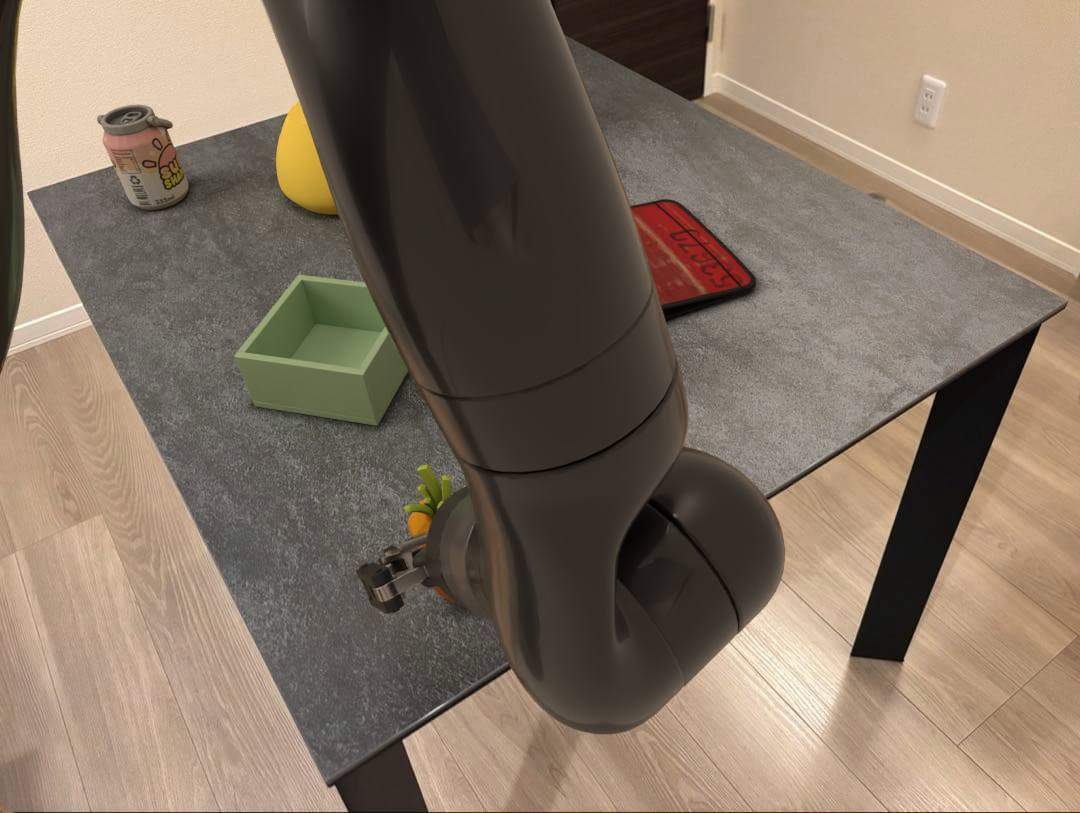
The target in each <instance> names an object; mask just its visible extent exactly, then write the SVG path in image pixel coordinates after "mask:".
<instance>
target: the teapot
mask: <svg viewBox="0 0 1080 813" xmlns="http://www.w3.org/2000/svg"><path fill="white" fill-rule="evenodd" d="M275 167H276V176H277V181H278V184H279V187H280V189H281V191H282V192H283V194H284V195H285V196H286V197H287V199H289V200H290V201H292V202H293V203H295V204H297V205H298V206H300V207H301V208H303V209H305V210H307V211H310V212H312V213H316V214H323V215H338V212H337V209H336V207H335V204H334V201H333V198H332V195H331V193H330V190H329V187H328V184H327V181H326V178H325V175H324V172H323V169H322V166H321V163H320V160H319V157H318V154H317V151H316V148H315V145H314V142H313V139H312V136H311V133H310V130H309V127H308V124H307V121H306V119H305V116H304V113H303V110H302V108H301V105H300V102H299V100H298V101H297V102H295V103H294V104H293V105H292V106H291V108H290V109H289V111H288V112H287V115H286V117H285V119H284V121H283V125H282V128H281V130H280V134H279V137H278V142H277V147H276V155H275Z"/></svg>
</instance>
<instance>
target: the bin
mask: <svg viewBox="0 0 1080 813" xmlns="http://www.w3.org/2000/svg"><path fill="white" fill-rule="evenodd" d="M233 358H234V360H235V362H236V363H235V364H236V366H237V367H238V370H239V373H240V374H241V377H242V379H243V381H244V384H245V387H246V388H247V391H248V393H249V396H250V398H251V401H252V403H253V405H254V407H257V408H263V409H269V410H276V411H280V412H281V411H282V412H287V413H294V414H301V415H307V416H314V417H319V418H324V419H325V418H326V419H332V420H337V421H343V422H344V421H345V422H351V423H357V424H363V425H369V426H375V427H376V426H379V424H380V422H381V420H382V419H383V416H384V415H385V413H386V411H387V410H388V408H389V406H390V404H391V403H392V401H393V399H394V397H395V396H396V393H397V392H398V390H399V388H400V387H401V384H402V383H403V381H404V379H405V377H406V376H407V374H408V373H409V371H408V370H407V368H406V366H405V364H404V362H403V360H402V358H401V356H400V355H399V353H398V351H397V349H396V347H395V345H394V343H393V341H392V339H391V337H390V335H389V333H388V331H387V329H386V327H385V325H384V323H383V321H382V319H381V317H380V315H379V313H378V311H377V308H376V306H375V304H374V302H373V300H372V297H371V295H370V293H369V291H368V288H367V286H366V284H365V282H364V281H356V280H350V279H349V280H348V279H339V278H332V277H322V276H314V275H305V274H298V275H297V276H296V277H295V278H294V279H293V281H292V282H291V283H290V284H289V286H288V287H286V290H285V291H283V293H282V295H281V296H280V297H279V298H278V300H277V301H276V302H275V303H274V305H273V306H272V307H271V308H270V309H269V311H268V312H267V313H266V314H265V316H264V317H263V319H262V320H261V321H260V322H259V323H258V324H257V326H256V327H255V329H254V330H253V331H252V332H251V334H250V335H249V336H248V337H247V339H246V340H245V341H244V343H243V344H242V345H241V346H240V348H239V349H238V350H237V351H236V353H235V354H234V355H233Z"/></svg>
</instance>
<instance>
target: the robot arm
mask: <svg viewBox="0 0 1080 813" xmlns="http://www.w3.org/2000/svg"><path fill="white" fill-rule="evenodd" d="M260 2H261V4H262V6H263V8H264V12H265V15H266V17H267V19H268V22H269V24H270V27H271V29H272V30H271V31H272V32H273V35H274V38H275V40H276V43H277V45H278V47H279V50H280V52H281V55H282V57H283V60H284V63H285V66H286V68H287V71H288V74H289V77H290V79H291V83H292V85H293V88H294V90H295V94H296V97H297V99H298V101H299V102H300V105H301V108H302V110H303V113H304V116H305V119H306V121H307V124H308V127H309V130H310V133H311V136H312V139H313V142H314V145H315V148H316V151H317V154H318V157H319V160H320V163H321V166H322V169H323V172H324V175H325V178H326V181H327V184H328V187H329V190H330V193H331V195H332V198H333V201H334V204H335V207H336V209H337V212H338V214H337V215H338V218H339V220H340V223H341V225H342V228H343V231H344V234H345V236H346V239H347V242H348V245H349V247H350V250H351V252H352V255H353V257H354V259H355V262H356V264H357V268H358V270H359V272H360V274H361V277H362V280H363V282H365V284H366V286H367V288H368V291H369V293H370V295H371V297H372V300H373V302H374V304H375V306H376V308H377V311H378V313H379V315H380V317H381V319H382V321H383V323H384V325H385V327H386V329H387V331H388V333H389V335H390V337H391V339H392V341H393V343H394V345H395V347H396V349H397V351H398V353H399V355H400V356H401V358H402V360H403V362H404V364H405V366H406V368H407V370H408V373H409V374H410V376H411V379H412V380H413V382H414V384H415V386H416V387H417V389H418V391H419V393H420V395H421V397H422V399H423V401H424V402H425V404H426V405H427V408H428V409H429V412H430V413H431V415H432V418H434V420H435V422H436V424H437V426H438V428H439V429H440V432H441V433H442V436H443V437H444V439H445V441H446V443H447V444H448V447H450V449H451V451H452V454H453V455H454V457H455V459H456V461H457V463H458V465H459V467H460V468H461V472H462V473H463V474H462V475H463V476H464V480H465V482H466V486H464V487H462V488H460V489H457V491H455V492H452V493H451V496H450V497H449V498H447V499H446V500H445V501H444V502H443V504H442V505H441V506H440V507H439V509H438V510H437V512H436V513H435V515H434V517H433V519H432V521H431V524H430V527H429V530H428V531H426V532H423V533H420V534H417V535H414V536H413V537H410V538H408V539H406V540H405V541H403V542H402V543H400V544H399V547H397V546H394V545H390V546H387V547H386V548H384V549H382V551H383V555H381V556H380V557H378V559H377V562H378V563H375V562H370V563H368V562H367V563H363V564H361V565H360V566H359V568H358V569H356V570H355V573H356V575H357V577H358V578H359V579H360V582H361V584H362V586H363V588H364V590H365V593H366V595H367V597H368V601H369V603H370V606H372V607H374V608H375V609H377V610H379V611H380V612H382V613H384V614H385V615H388V614H391V613H392V614H395V613H397V612H399V611H400V610H401V608H403V607H404V606H405V602H406V601H407V600H408V596H407V594H406V592H407V591H408V590H410V589H411V588H414V587H416V588H417V589H418V590H419V591H422V592H426V591H427V592H428V591H431V590H435V589H434V588H438V587H439V588H440V589H441V590H442V591H443V592H444V593H445V594H446V595H447V596H448V597H450V598H451V599H452V600H454V601H455V602H457V603H459V604H458V605H460V606H461V607H463V608H465V609H467V610H469V611H471V612H473V613H474V614H475V615H478V616H479V617H481V618H483V619H484V620H485V621H489V622H491V623H492V624H493V627H494V630H495V633H496V637H497V639H498V642H499V645H500V648H501V650H502V652H503V655H504V657H505V660H506V661H507V663H508V665H509V667H510V669H511V671H512V673H513V674H514V676H515V678H516V679H517V681H518V682H519V685H521V687H522V689H524V691H525V692H526V694H527V695H528V696H529V697H530V699H532V701H533V702H534V703H535V704H536V705H537V706H538V707H539V708H540V709H542V710H543V712H544V713H546V714H547V715H548V716H550V717H551V718H552V719H553V720H556V721H557V722H559V723H561V724H562V725H564V726H566V727H568V728H570V729H573V730H576V731H578V732H581V733H587V734H591V735H603V736H604V735H611V736H612V735H617V734H621V733H622V734H623V733H626V732H630V731H631V730H633V729H636V728H638V727H640V726H641V725H643V724H645V723H646V722H648V721H649V720H651V719H652V718H653V717H654V716H656V715H657V714H658V713H659V712H660V711H661V710H662V709H664V708H665V707H666V706H667V705H668V704H669V703H670V702H671V701H672V700H673V699H674V698H675V697H676V696H677V695H678V694H679V693H680V692H681V691H682V689H683V688H684V687H686V686H687V685H688V684H689V683H690V682H691V681H692V680H693V679H694V678H695V677H696V676H697V675H699V673H700V672H701V671H702V670H703V669H704V668H705V667H706V666H707V665H708V664H709V663H710V662H711V661H712V660H713V659H715V657H716V656H717V655H719V653H721V652H722V651H723V650H724V649H725V648H726V647H727V646H728V645H729V644H730V643H731V641H733V640H734V638H735V637H736V636H737V635H739V634H740V633H741V632H742V631H743V630H745V628H746V627H747V626H748V625H749V624H750V623H751V622H752V621H753V620H754V619H755V618H756V617H757V616H758V615H759V614H760V613H761V612H762V611H763V610H764V609H765V608H766V607H767V605H768V604H769V603H770V601H771V600H772V599H773V597H774V596H775V594H776V593H777V590H778V588H779V586H780V584H781V581H782V579H783V574H784V571H785V570H784V569H785V564H786V563H785V562H786V547H785V546H786V545H785V538H784V532H783V528H782V526H781V523H780V520H779V518H778V516H777V514H776V512H775V510H774V508H773V506H772V505H771V503H770V501H769V499H767V497H766V496H765V494H764V493H763V491H762V490H761V488H760V487H759V486H758V485H757V484H756V483H755V482H754V481H753V480H752V479H751V478H750V477H749V476H747V475H746V474H745V473H744V472H743V471H741V470H739V469H738V468H737V467H735V466H733V465H732V464H731V463H729V462H727V461H725V460H723V459H722V458H720V457H717V456H715V455H713V454H710V453H708V452H705V451H702V450H701V449H696V448H693V447H688V446H684V445H685V442H686V438H687V434H688V431H689V430H688V429H689V420H690V418H689V415H690V414H689V404H688V402H689V401H688V397H687V396H688V395H687V391H686V387H685V382H684V379H683V375H682V374H683V373H682V371H681V367H680V365H679V364H680V363H679V361H678V358H677V354H676V350H675V348H674V344H673V340H672V337H671V334H670V331H669V327H668V323H667V321H666V320H667V319H665V317H664V314H663V310H662V307H661V303H660V300H659V297H658V293H657V290H656V286H655V283H654V280H653V276H652V273H651V268H650V265H649V262H648V259H647V256H646V253H645V250H644V246H643V243H642V240H641V237H640V234H639V231H638V228H637V225H636V222H635V219H634V216H633V213H632V210H631V207H630V206H631V204H630V201H629V198H628V195H627V193H626V190H625V186H624V184H623V181H622V179H621V175H620V173H619V169H618V167H617V165H616V162H615V159H614V157H613V153H612V151H611V149H610V147H609V144H608V141H607V138H606V136H605V133H604V131H603V128H602V126H601V123H600V120H599V117H598V115H597V113H596V111H595V108H594V104H593V103H592V100H591V97H590V95H589V93H588V90H587V88H586V85H585V83H584V80H583V78H582V76H581V72H580V70H579V67H578V65H577V64H576V60H575V58H574V55H573V54H572V51H571V48H570V45H569V44H568V41H567V39H566V36H565V34H564V31H563V29H562V27H561V25H560V24H561V23H560V21H559V19H558V17H557V14H556V12H555V9H554V7H553V4H552V1H551V0H260ZM22 5H23V0H0V375H1V374H2V371H3V369H4V366H5V363H6V359H7V357H8V353H9V350H10V347H11V343H12V340H13V336H14V331H15V327H16V324H17V319H18V314H19V308H20V304H21V298H22V290H23V284H24V283H23V282H24V271H25V270H24V269H25V256H26V233H25V232H26V224H25V223H26V219H25V216H26V215H25V202H24V200H25V199H24V182H23V171H22V158H21V148H20V147H21V146H20V134H19V123H18V122H19V121H18V120H19V119H18V104H17V103H18V100H17V97H18V96H17V64H18V63H17V61H18V49H19V48H18V45H19V31H20V30H19V29H20V18H21V11H22ZM423 544H426V546H425V547H423ZM457 603H456V604H457ZM0 813H14V812H13V811H12V810H11V809H10V808H8V807H6V806H5V805H3V803H1V802H0Z"/></svg>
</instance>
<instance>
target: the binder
mask: <svg viewBox="0 0 1080 813" xmlns="http://www.w3.org/2000/svg"><path fill="white" fill-rule="evenodd" d="M630 207H631V210H632V213H633V216H634V219H635V222H636V225H637V228H638V231H639V234H640V237H641V240H642V243H643V246H644V250H645V253H646V256H647V259H648V262H649V265H650V268H651V273H652V276H653V280H654V283H655V286H656V290H657V293H658V297H659V300H660V303H661V307H662V310H663V314H664V317H665V320H668V319H671V318H674V317H678V316H680V315H683V314H686V313H689V312H691V311H694V310H697V309H700V308H704V307H706V306H710V305H712V304H715V303H718V302H721V301H724V300H727V299H730V298H733V297H737V296H739V295H743V294H745V293H748V292H750V291H752V290H754V289H755V288H756V283H757V278H756V276H755V275H754V274H753V273H752V272H751V270H750V269H749V268H748V267H747V266H746V265H745V264H744V263H743V262H742V260H741V259H740V258H739V257H738V256H737V255H736V254H735V253H734V252H733V251H732V250H731V249H730V247H728V246H727V245H726V244H725V243H724V242H723V241H721V239H720V238H719V237H718V236H717V235H716V234H715V233H714V232H713V231H711V230H710V229H709V227H708V226H706V225H705V224H704V223H703V222H702V221H701V220H700V219H699V218H698V217H697V216H695V215H694V214H693V213H692V212H691V211H690V210H689V209H688V208H687V207H686V206H685V205H683V204H682V203H681V202H679V201H677V200H674V199H671V198H670V199H669V198H663V199H657V200H652V201H649V202H643V203H639V204H633V205H630Z"/></svg>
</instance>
